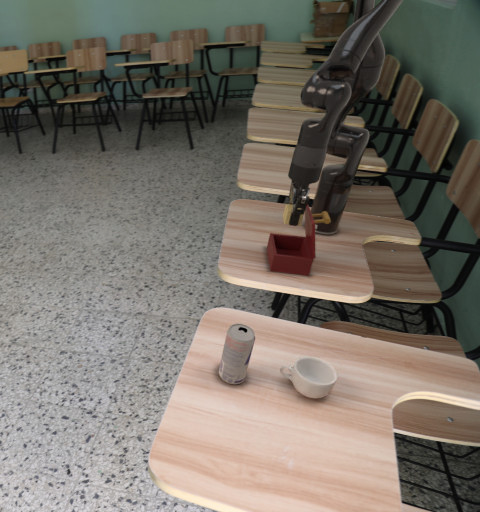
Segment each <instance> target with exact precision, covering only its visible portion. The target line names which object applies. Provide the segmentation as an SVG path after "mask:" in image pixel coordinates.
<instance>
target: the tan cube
mask: <svg viewBox="0 0 480 512" xmlns="http://www.w3.org/2000/svg"><path fill="white" fill-rule="evenodd" d="M292 207H293V205H292V204H289V203H285V207H284V211H283V214H282V221H283V224H284V225H287V226H290V225H289V220H290V216H291V210H292ZM298 209H300V208H298ZM304 217H305V212H304V214H303V215H301V214H300V218H299V222H298V225H297V226H296V227H301V226H302V223H303V220H304Z"/></svg>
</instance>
